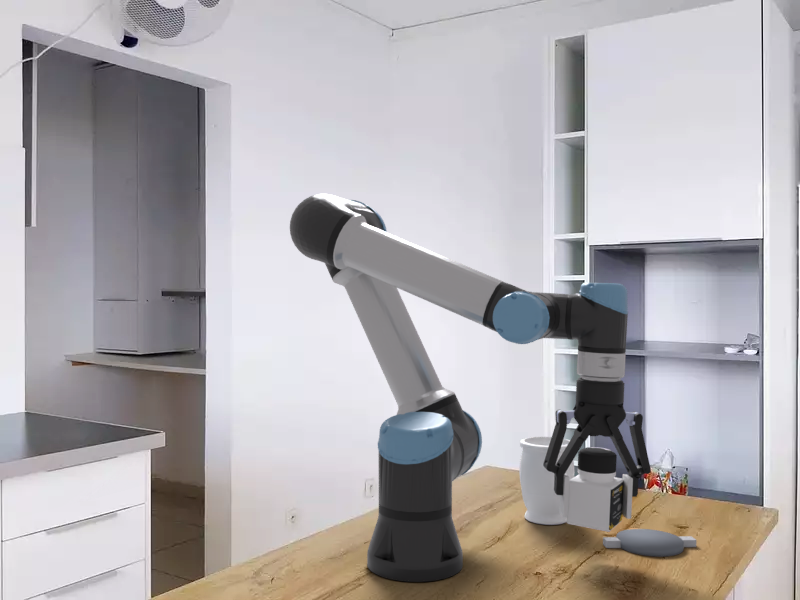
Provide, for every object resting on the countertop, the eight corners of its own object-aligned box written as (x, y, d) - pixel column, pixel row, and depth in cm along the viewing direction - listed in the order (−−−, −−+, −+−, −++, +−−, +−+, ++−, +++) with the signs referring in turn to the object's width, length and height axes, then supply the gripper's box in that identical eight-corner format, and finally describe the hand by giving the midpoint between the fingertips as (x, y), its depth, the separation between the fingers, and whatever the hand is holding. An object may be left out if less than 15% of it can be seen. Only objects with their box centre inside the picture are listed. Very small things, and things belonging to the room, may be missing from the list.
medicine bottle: (609, 532, 120) (613, 456, 120) (565, 524, 124) (568, 449, 124) (622, 521, 126) (625, 448, 126) (580, 513, 130) (583, 442, 130)
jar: (574, 529, 142) (575, 447, 141) (517, 525, 144) (518, 445, 143) (573, 513, 152) (574, 437, 152) (520, 509, 154) (520, 434, 154)
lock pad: (615, 557, 127) (615, 549, 127) (591, 532, 140) (591, 525, 140) (708, 555, 127) (708, 548, 127) (675, 531, 141) (675, 524, 141)
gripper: (537, 378, 120) (532, 521, 121) (677, 383, 122) (671, 523, 122) (527, 373, 128) (521, 507, 128) (659, 377, 129) (653, 509, 130)
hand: (594, 515), depth 125 cm, fingers closed on medicine bottle, 10 cm apart
